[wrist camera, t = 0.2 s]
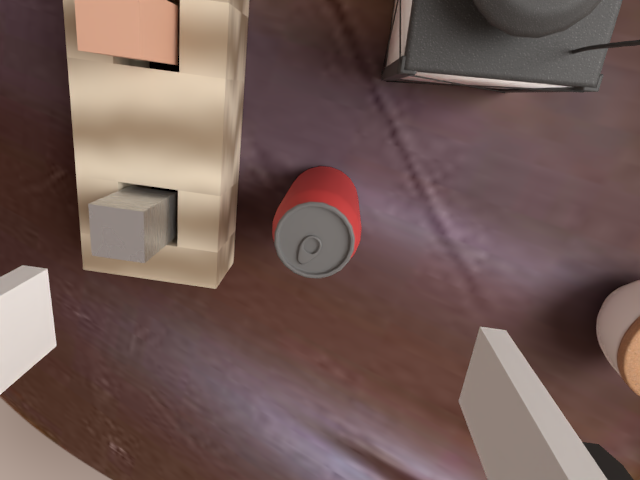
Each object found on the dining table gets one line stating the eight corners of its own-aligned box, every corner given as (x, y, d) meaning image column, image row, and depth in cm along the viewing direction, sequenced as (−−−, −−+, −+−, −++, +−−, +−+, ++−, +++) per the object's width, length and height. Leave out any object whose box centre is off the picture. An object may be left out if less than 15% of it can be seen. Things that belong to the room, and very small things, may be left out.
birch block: (105, -50, 33) (56, -80, 28) (251, -31, 33) (231, -56, 28) (118, 246, 42) (83, 269, 37) (233, 262, 42) (215, 288, 36)
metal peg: (130, 185, 35) (88, 203, 29) (176, 192, 35) (143, 211, 29) (131, 230, 36) (91, 255, 30) (176, 236, 36) (144, 263, 30)
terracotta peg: (124, -1, 30) (72, -24, 24) (178, 6, 30) (139, -14, 24) (126, 58, 31) (77, 50, 26) (177, 65, 31) (140, 59, 26)
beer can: (277, 210, 40) (249, 256, 29) (310, 151, 38) (295, 176, 27) (335, 243, 41) (330, 301, 29) (371, 187, 39) (381, 226, 27)
